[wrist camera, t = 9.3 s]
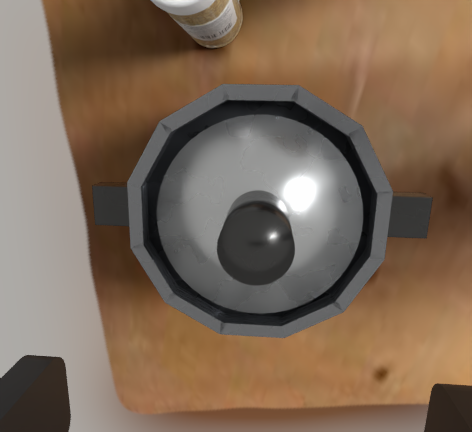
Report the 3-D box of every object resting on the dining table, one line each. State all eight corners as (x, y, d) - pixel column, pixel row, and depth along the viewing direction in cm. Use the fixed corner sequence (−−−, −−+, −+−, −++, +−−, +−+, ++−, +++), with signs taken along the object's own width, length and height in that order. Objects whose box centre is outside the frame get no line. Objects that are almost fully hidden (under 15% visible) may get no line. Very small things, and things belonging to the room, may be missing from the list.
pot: (397, 96, 31) (468, 88, 20) (376, 273, 35) (425, 346, 24) (133, 91, 32) (66, 81, 21) (141, 262, 36) (87, 326, 25)
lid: (374, 122, 22) (412, 126, 16) (343, 314, 25) (366, 375, 19) (163, 106, 23) (127, 105, 17) (159, 296, 26) (128, 349, 20)
